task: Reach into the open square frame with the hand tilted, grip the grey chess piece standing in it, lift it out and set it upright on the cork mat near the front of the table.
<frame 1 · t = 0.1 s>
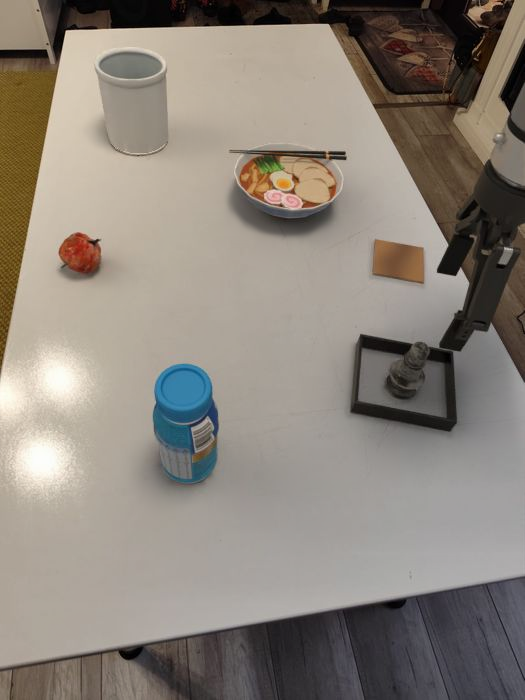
hand: (447, 308, 70), 21 cm above the table, tool pointing down, fingers open, 13 cm apart
ramen bowl: (285, 203, 113), on the table
grey chess piece: (400, 386, 87), resting in open square frame
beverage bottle: (189, 458, 76), on the table
open square frame: (400, 385, 87), on the table
utensil holder: (139, 139, 123), on the table
cork mat: (398, 261, 105), on the table
pomegranate: (83, 268, 97), on the table
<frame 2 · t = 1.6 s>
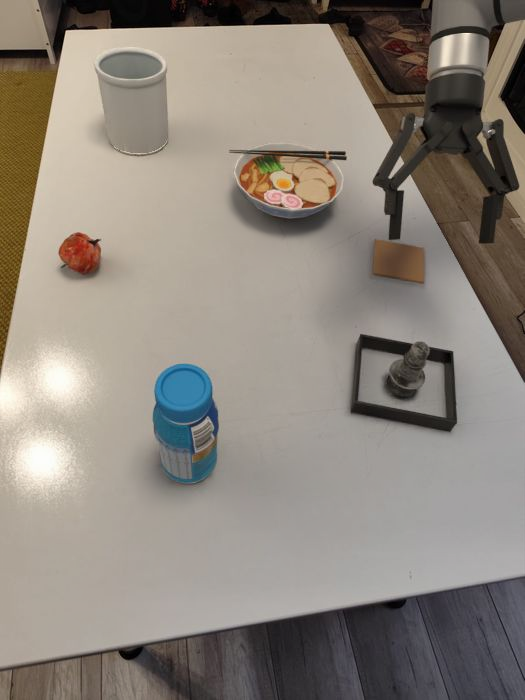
hand: (440, 241, 73), 23 cm above the table, tool tilted 45°, fingers open, 13 cm apart
nothing on the table moved.
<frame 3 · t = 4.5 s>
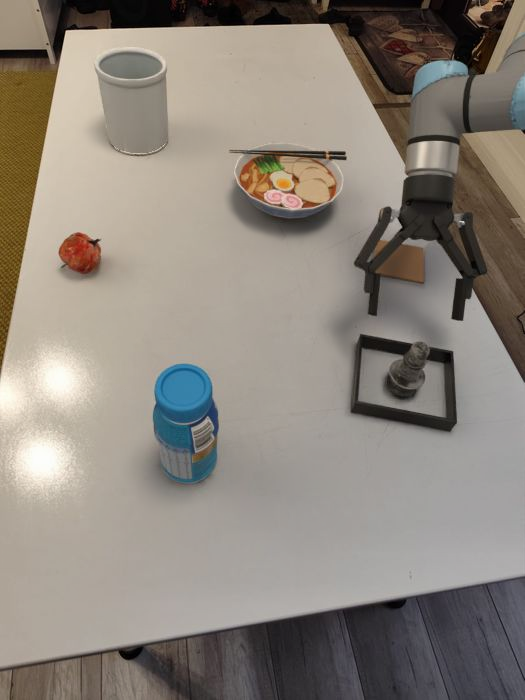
hand: (414, 317, 81), 11 cm above the table, tool tilted 45°, fingers open, 13 cm apart
nothing on the table moved.
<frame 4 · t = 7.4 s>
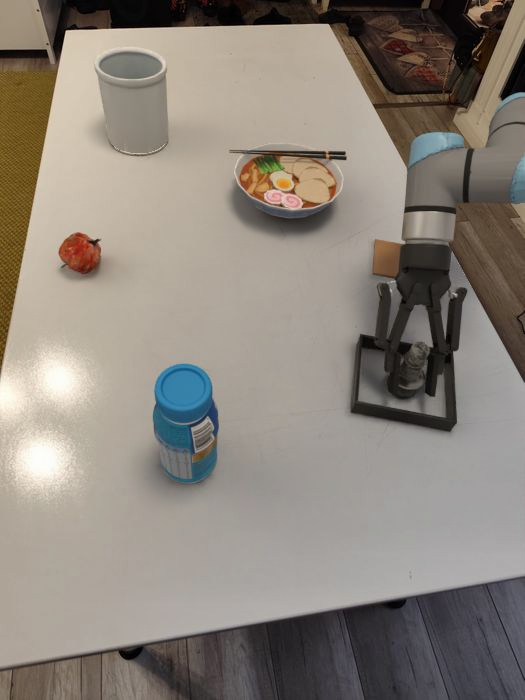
hand: (411, 393, 82), 4 cm above the table, tool tilted 45°, fingers closed on grey chess piece, 5 cm apart
grey chess piece: (400, 386, 87), resting in open square frame, touching gripper
everything else where it was.
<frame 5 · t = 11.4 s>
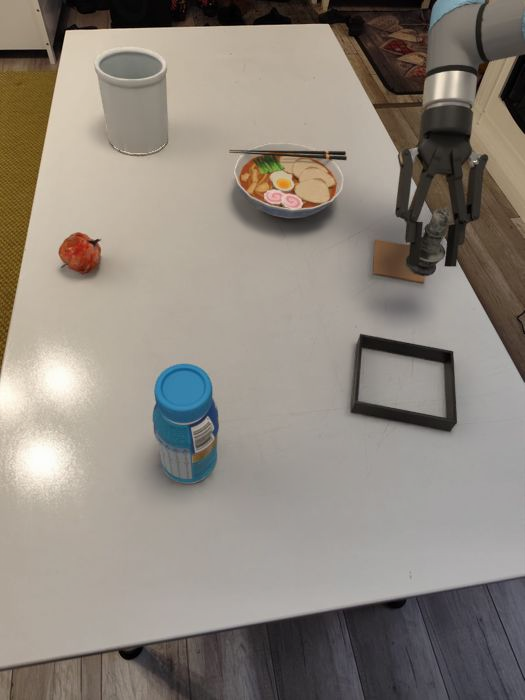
hand: (431, 265, 82), 15 cm above the table, tool tilted 45°, fingers closed on grey chess piece, 5 cm apart
grey chess piece: (420, 265, 87), point 12 cm above the table, touching gripper
everything else where it was.
when the fingers open (4 cm above the table, at t = 15.8 s): grey chess piece stays where it is, resting on cork mat.
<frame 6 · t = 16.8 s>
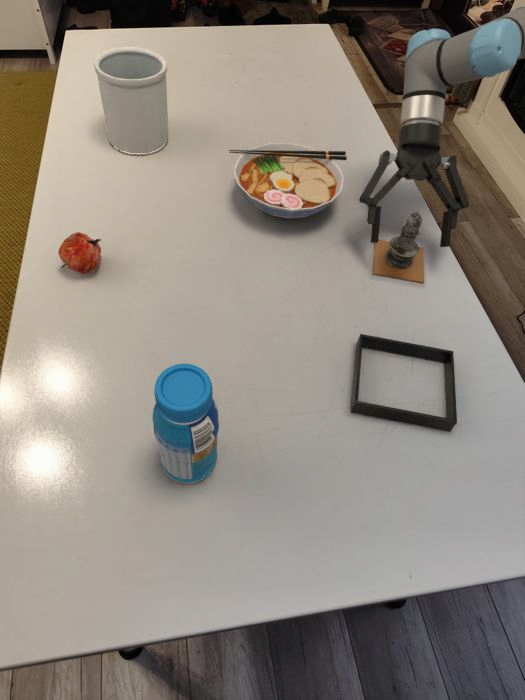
hand: (409, 244, 98), 6 cm above the table, tool tilted 45°, fingers open, 13 cm apart
grey chess piece: (398, 260, 104), resting on cork mat
everything else where it was.
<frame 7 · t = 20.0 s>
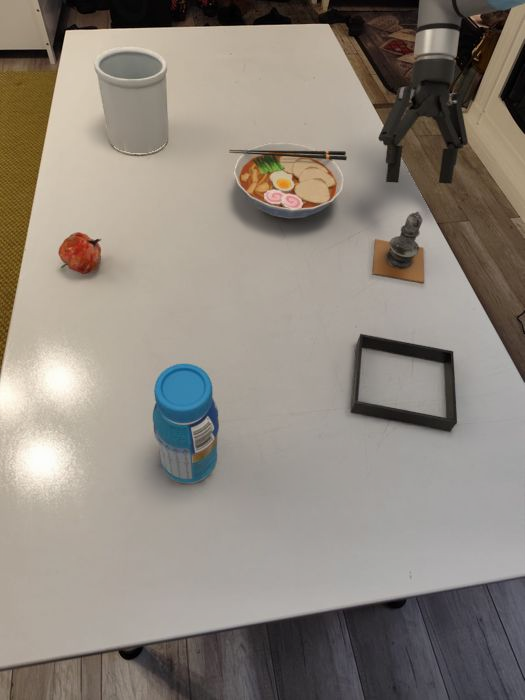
hand: (419, 183, 102), 11 cm above the table, tool tilted 35°, fingers open, 13 cm apart
nothing on the table moved.
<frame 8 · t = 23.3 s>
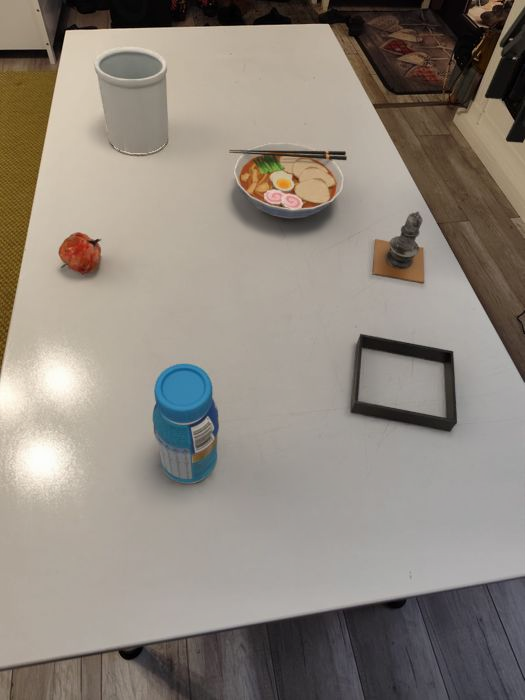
hand: (502, 118, 89), 27 cm above the table, tool pointing down, fingers open, 13 cm apart
nothing on the table moved.
at the end: grey chess piece inside the target area on the cork mat (0.1 cm from its centre), point 0.3 cm above the cork mat's base; grey chess piece tilted 0°; the gripper is holding nothing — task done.
